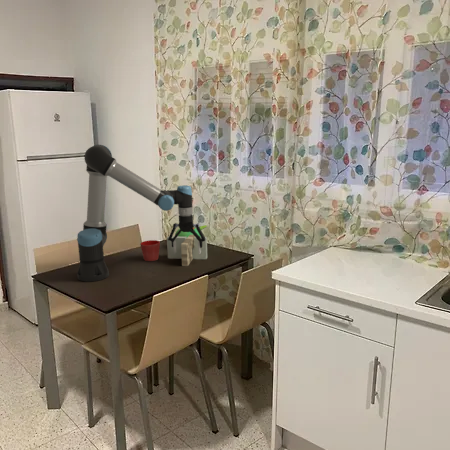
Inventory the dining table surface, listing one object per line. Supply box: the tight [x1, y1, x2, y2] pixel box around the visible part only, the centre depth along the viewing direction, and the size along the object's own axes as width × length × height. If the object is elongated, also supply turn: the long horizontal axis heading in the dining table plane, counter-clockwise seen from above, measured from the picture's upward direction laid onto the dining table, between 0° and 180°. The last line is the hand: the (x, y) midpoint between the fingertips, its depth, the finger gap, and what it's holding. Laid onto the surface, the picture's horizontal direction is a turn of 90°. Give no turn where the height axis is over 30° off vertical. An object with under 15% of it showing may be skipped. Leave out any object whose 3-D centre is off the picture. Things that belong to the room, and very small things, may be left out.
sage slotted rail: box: [166, 235, 208, 260], centre depth 255 cm, size 22×3×12 cm, turn 81°
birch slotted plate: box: [181, 235, 195, 267], centre depth 251 cm, size 20×3×12 cm, turn 171°
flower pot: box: [140, 239, 161, 262], centre depth 255 cm, size 11×11×10 cm
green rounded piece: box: [174, 224, 208, 237], centre depth 273 cm, size 18×17×15 cm
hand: (187, 253), depth 247 cm, fingers open, 13 cm apart
